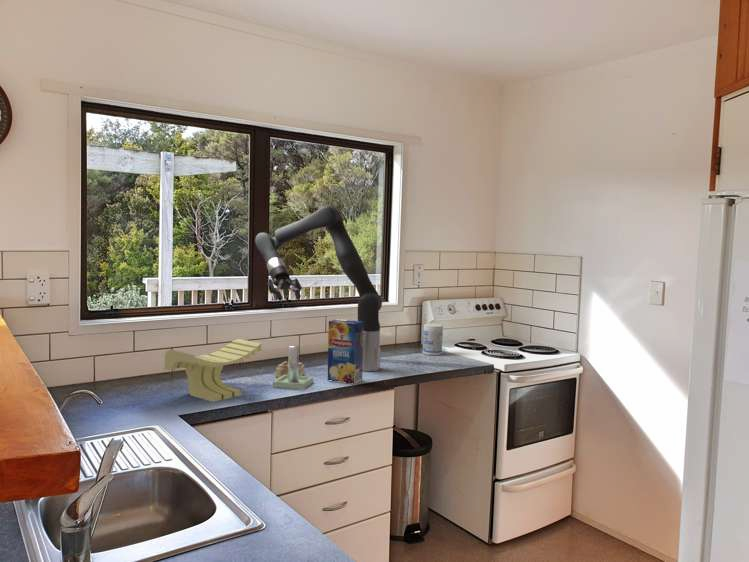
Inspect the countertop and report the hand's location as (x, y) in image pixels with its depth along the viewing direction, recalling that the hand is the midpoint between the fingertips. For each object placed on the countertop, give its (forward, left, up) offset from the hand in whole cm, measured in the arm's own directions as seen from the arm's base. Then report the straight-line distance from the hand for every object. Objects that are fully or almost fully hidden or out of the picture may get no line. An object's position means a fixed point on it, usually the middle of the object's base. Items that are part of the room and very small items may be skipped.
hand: (290, 299), depth 259 cm
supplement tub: (-53, -58, -31) cm, 84 cm away
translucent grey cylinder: (-10, +21, -30) cm, 38 cm away
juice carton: (-27, +8, -31) cm, 42 cm away
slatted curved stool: (+12, +43, -31) cm, 54 cm away
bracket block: (-4, +9, -31) cm, 32 cm away
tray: (-10, +21, -31) cm, 39 cm away
